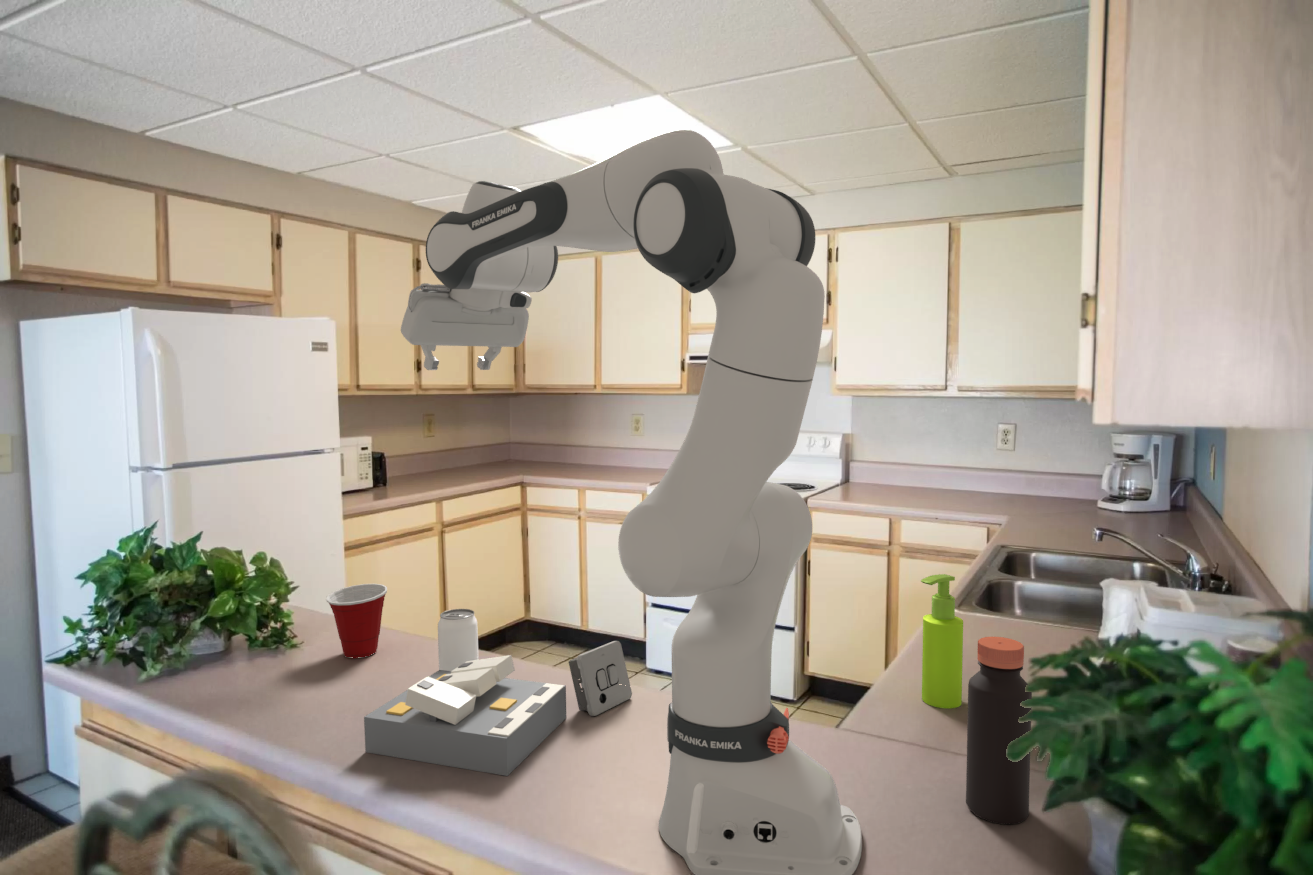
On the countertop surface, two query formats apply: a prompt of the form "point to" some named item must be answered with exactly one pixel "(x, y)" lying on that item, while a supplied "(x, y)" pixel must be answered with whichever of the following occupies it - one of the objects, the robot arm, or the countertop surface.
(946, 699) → the soap dispenser
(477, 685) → the rocker
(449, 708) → the rocker
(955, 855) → the countertop surface
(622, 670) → the electrical switch
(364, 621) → the plastic cup
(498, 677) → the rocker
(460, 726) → the switch unit
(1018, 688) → the bottle
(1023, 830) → the countertop surface
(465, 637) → the can
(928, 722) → the countertop surface
